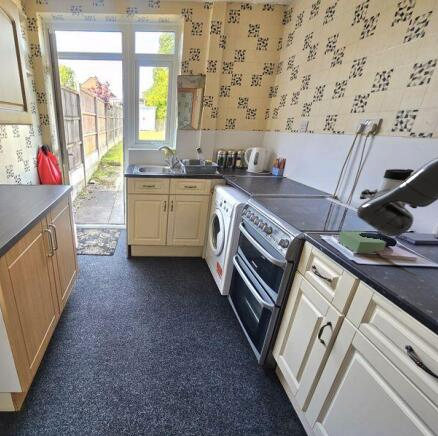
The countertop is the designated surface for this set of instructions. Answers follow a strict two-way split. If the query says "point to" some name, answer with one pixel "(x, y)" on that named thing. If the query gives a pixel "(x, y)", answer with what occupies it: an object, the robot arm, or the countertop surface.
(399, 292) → the countertop surface
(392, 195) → the robot arm
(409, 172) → the travel mug
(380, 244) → the riser block
